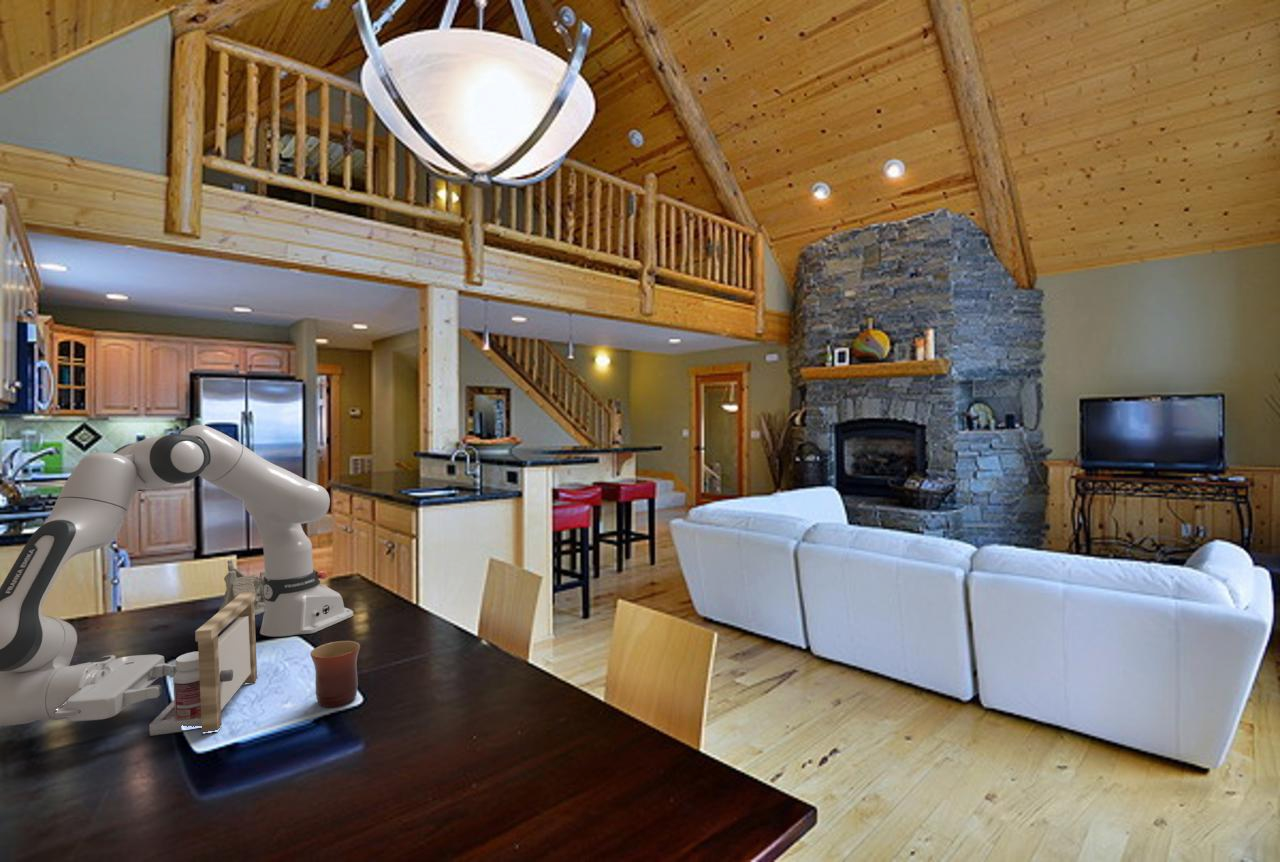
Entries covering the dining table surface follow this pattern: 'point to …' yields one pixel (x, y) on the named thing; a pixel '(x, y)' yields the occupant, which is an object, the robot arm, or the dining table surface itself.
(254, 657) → the door frame
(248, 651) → the door
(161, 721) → the keeper
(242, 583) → the ceramic cottage
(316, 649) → the mug
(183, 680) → the pill bottle
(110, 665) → the robot arm
